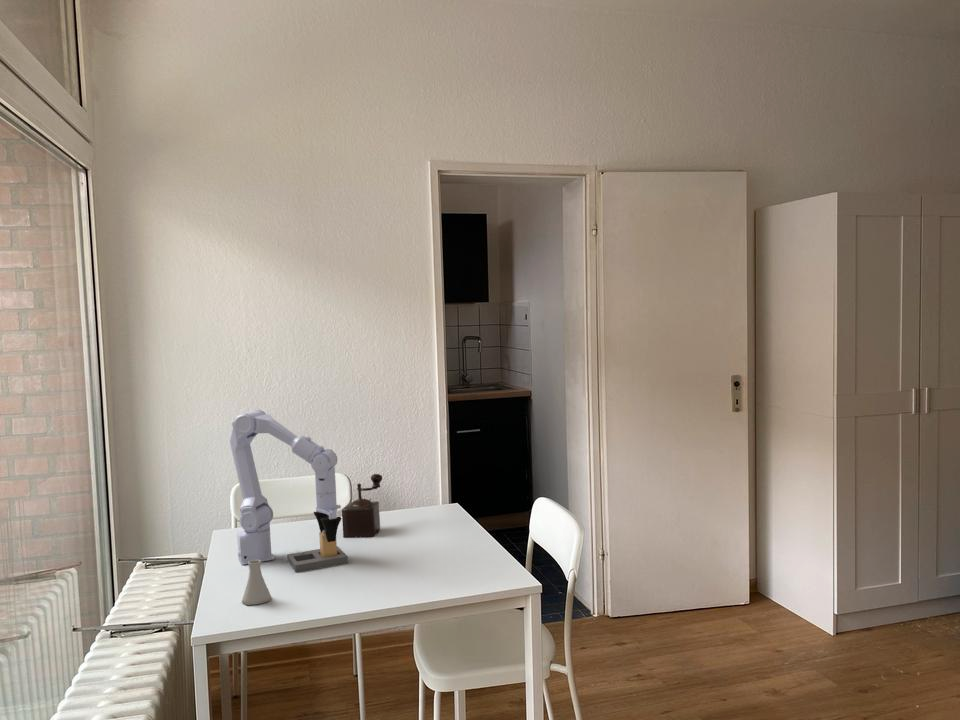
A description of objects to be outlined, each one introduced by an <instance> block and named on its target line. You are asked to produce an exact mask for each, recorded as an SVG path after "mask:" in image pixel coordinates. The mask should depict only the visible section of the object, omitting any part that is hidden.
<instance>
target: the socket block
mask: <svg viewBox="0 0 960 720" xmlns="http://www.w3.org/2000/svg"><path fill="white" fill-rule="evenodd" d="M286 558H287V562H288V564H289V565H290V567H291V568H292V569H293V571H294V572H295V573H301V572H306V571H311V570H317V569H324V568H328V567H333V566H340V565H341V566H342V565H347V564H348V563H349V557H348V555H347V553H345V552H344V551H343V550H342V549H341V548H340V547H339V546H338V545H337V555H333V556H327V557H321V555H320V548H316V549H311V550H310V549H309V550H306V551H299V552H298V551H297V552H294V553H287V554H286Z"/></svg>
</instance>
